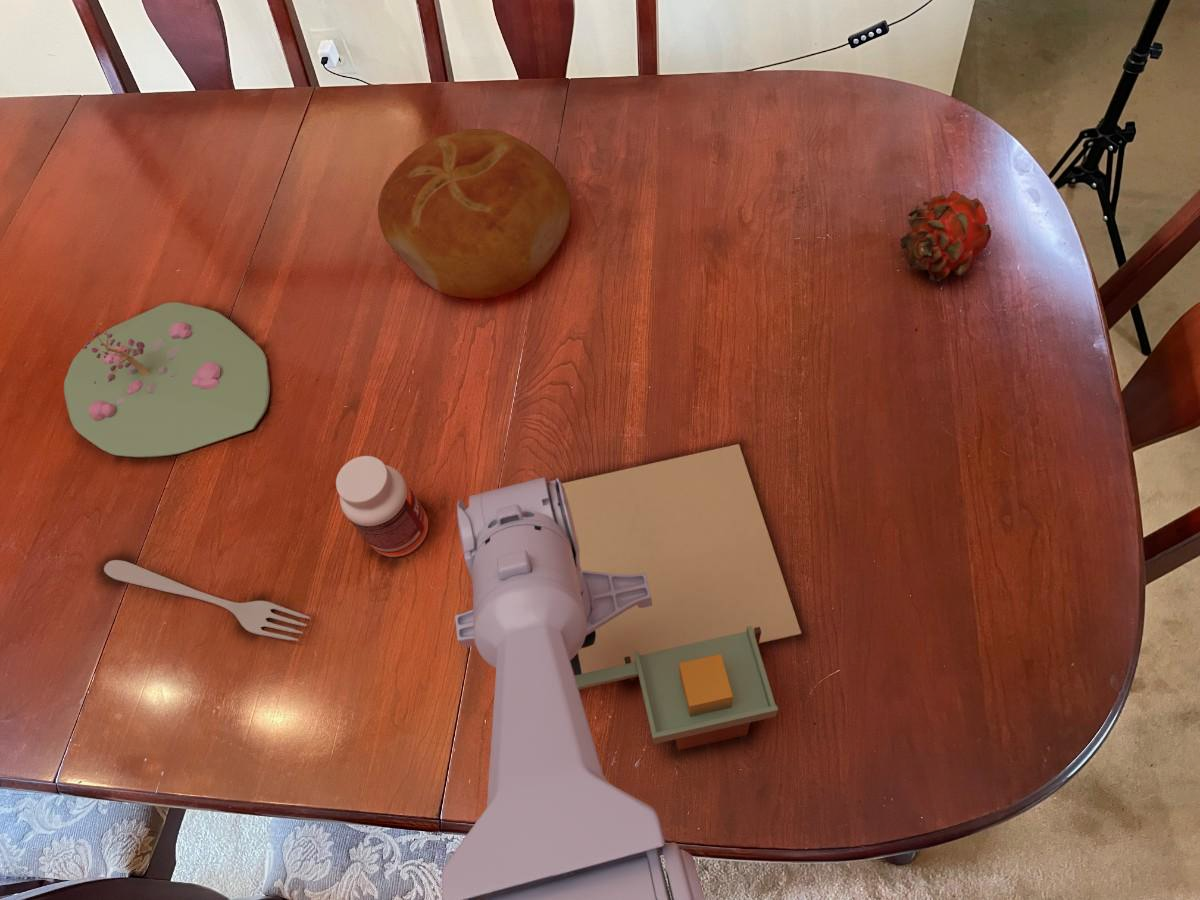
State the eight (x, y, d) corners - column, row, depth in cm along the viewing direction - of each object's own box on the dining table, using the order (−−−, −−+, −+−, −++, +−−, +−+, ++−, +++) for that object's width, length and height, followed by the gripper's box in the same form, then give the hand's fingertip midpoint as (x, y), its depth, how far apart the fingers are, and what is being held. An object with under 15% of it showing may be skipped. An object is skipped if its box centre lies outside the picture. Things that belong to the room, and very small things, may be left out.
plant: (308, 317, 99) (275, 265, 91) (242, 472, 89) (198, 428, 82) (120, 301, 104) (73, 250, 96) (37, 447, 94) (-23, 403, 86)
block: (731, 707, 66) (733, 696, 64) (689, 717, 66) (689, 706, 64) (720, 665, 68) (721, 653, 65) (679, 674, 68) (678, 662, 65)
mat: (801, 634, 75) (801, 633, 75) (581, 684, 75) (581, 683, 75) (738, 445, 85) (738, 443, 85) (544, 488, 85) (544, 487, 85)
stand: (779, 727, 72) (785, 711, 66) (646, 757, 71) (642, 744, 66) (755, 647, 75) (759, 626, 70) (628, 676, 75) (623, 657, 70)
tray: (775, 717, 66) (778, 709, 64) (582, 760, 66) (579, 755, 64) (742, 604, 71) (743, 594, 69) (562, 644, 71) (558, 635, 69)
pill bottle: (442, 528, 84) (410, 477, 74) (393, 571, 82) (354, 524, 73) (404, 490, 86) (368, 435, 77) (356, 531, 85) (313, 480, 75)
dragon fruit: (911, 308, 93) (936, 243, 100) (990, 291, 87) (1012, 224, 94) (880, 246, 89) (909, 183, 96) (961, 224, 83) (986, 158, 90)
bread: (365, 305, 99) (333, 246, 91) (417, 164, 110) (393, 99, 102) (554, 318, 96) (540, 257, 87) (588, 171, 107) (579, 104, 98)
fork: (114, 551, 86) (104, 544, 85) (319, 619, 80) (312, 612, 79) (96, 579, 85) (85, 573, 83) (303, 650, 79) (295, 645, 77)
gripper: (633, 511, 61) (642, 578, 72) (434, 555, 60) (476, 616, 72) (655, 603, 57) (661, 658, 69) (444, 651, 57) (487, 698, 69)
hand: (568, 642), depth 70 cm, fingers closed, pressing on tray
